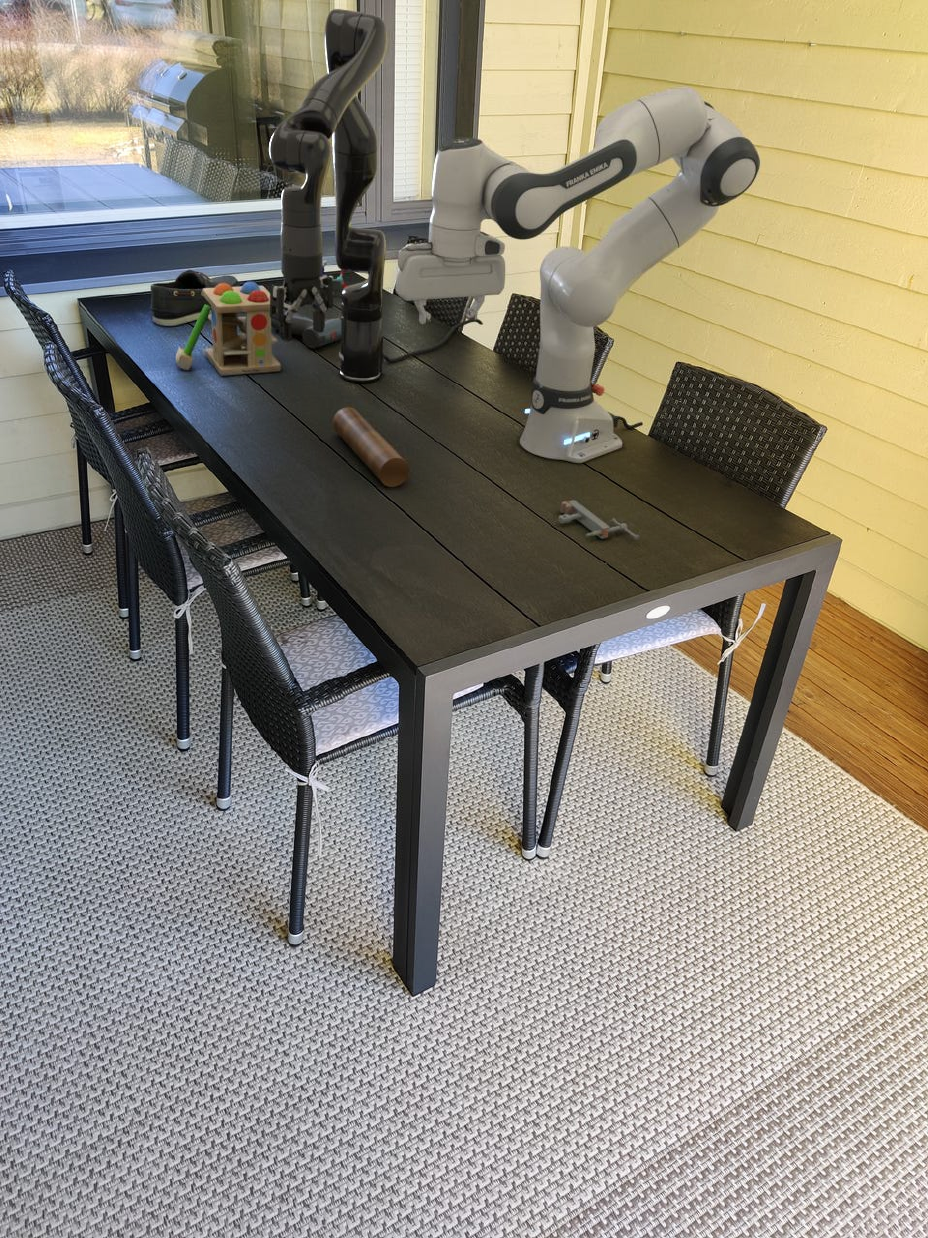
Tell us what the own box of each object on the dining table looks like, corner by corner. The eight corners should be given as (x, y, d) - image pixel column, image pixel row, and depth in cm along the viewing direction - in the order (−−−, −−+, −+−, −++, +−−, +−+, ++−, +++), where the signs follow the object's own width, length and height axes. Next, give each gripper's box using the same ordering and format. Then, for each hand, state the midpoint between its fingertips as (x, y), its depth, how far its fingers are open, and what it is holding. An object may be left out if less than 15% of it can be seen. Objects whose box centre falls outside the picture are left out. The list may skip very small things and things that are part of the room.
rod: (332, 436, 202) (332, 408, 199) (359, 433, 205) (360, 405, 202) (379, 489, 185) (380, 459, 181) (408, 484, 187) (410, 455, 184)
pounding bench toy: (183, 379, 220) (176, 299, 210) (169, 357, 231) (162, 280, 221) (282, 371, 230) (280, 294, 220) (264, 350, 240) (262, 276, 230)
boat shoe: (260, 304, 271) (258, 265, 265) (170, 328, 247) (166, 286, 242) (226, 295, 276) (223, 257, 271) (135, 318, 253) (129, 277, 247)
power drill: (305, 316, 264) (364, 334, 256) (257, 332, 251) (318, 351, 243) (305, 296, 261) (365, 314, 253) (257, 311, 248) (318, 330, 240)
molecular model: (344, 287, 277) (332, 252, 275) (316, 300, 280) (304, 265, 279) (361, 290, 287) (349, 256, 286) (333, 302, 291) (322, 269, 289)
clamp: (548, 504, 180) (591, 495, 185) (546, 514, 181) (590, 505, 186) (596, 542, 170) (641, 532, 174) (594, 553, 171) (639, 543, 175)
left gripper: (287, 259, 173) (288, 349, 183) (343, 247, 183) (342, 333, 192) (258, 250, 177) (261, 338, 186) (315, 238, 187) (315, 323, 196)
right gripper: (406, 248, 163) (402, 331, 171) (513, 244, 171) (505, 322, 179) (391, 239, 167) (388, 319, 175) (496, 235, 176) (488, 312, 184)
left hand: (302, 335), depth 189 cm, fingers open, 8 cm apart
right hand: (448, 321), depth 177 cm, fingers open, 8 cm apart
